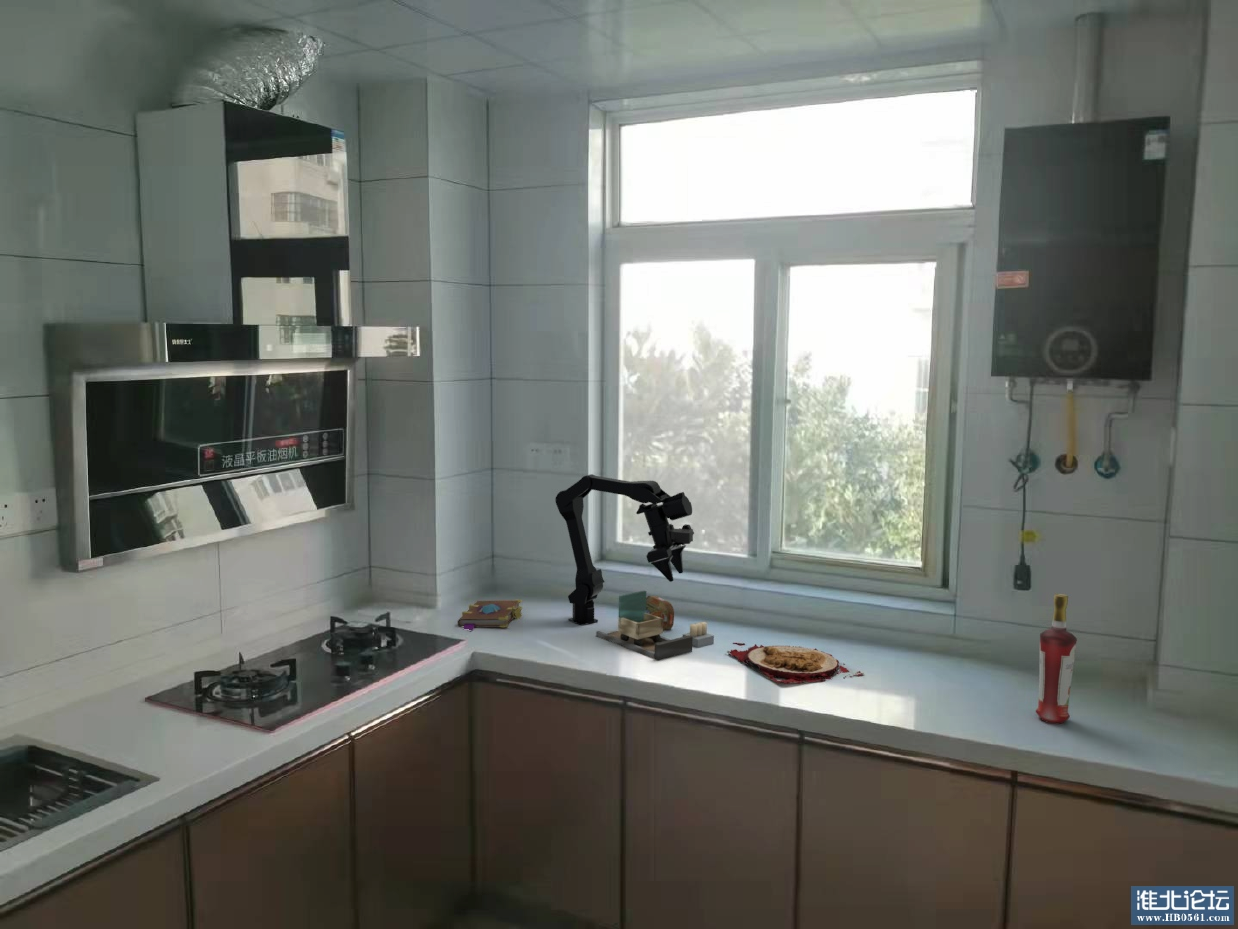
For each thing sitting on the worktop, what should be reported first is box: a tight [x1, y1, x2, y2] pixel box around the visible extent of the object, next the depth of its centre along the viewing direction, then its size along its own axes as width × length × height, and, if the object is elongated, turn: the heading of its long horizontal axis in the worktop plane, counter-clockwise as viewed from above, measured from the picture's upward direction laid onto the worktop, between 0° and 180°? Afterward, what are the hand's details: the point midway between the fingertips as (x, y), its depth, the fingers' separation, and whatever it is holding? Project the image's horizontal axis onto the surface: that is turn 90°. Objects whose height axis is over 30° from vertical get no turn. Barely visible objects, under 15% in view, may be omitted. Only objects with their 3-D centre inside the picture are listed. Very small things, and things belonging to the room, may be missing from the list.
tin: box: [646, 595, 675, 631], centre depth 275 cm, size 15×3×8 cm, turn 25°
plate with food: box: [727, 642, 865, 685], centre depth 243 cm, size 25×26×4 cm
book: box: [457, 599, 523, 633], centre depth 279 cm, size 16×25×5 cm, turn 173°
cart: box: [617, 590, 664, 646], centre depth 256 cm, size 8×9×13 cm
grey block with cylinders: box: [682, 621, 715, 648], centre depth 258 cm, size 6×6×6 cm
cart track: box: [595, 630, 693, 661], centre depth 256 cm, size 26×12×5 cm, turn 40°
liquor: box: [1035, 593, 1078, 724], centre depth 208 cm, size 7×7×28 cm
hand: (676, 577), depth 266 cm, fingers open, 9 cm apart
